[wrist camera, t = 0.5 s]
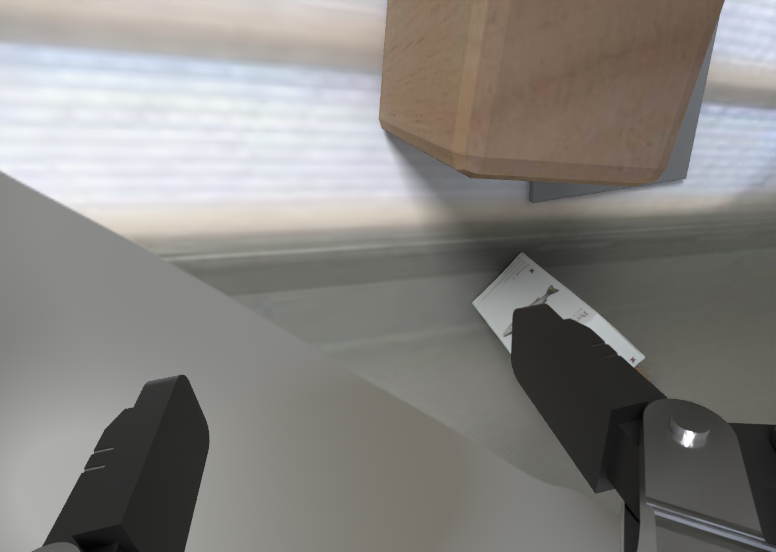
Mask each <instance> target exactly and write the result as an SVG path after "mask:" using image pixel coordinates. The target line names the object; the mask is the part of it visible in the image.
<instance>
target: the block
mask: <svg viewBox="0 0 776 552" xmlns="http://www.w3.org/2000/svg"><path fill="white" fill-rule="evenodd" d="M724 1H725V0H388V3H387V16H386V30H385V43H384V57H383V70H382V84H381V98H380V111H379V120H380V124H381V127H382V129H384V130H386V131H388V132H389V133H391V134H393V135H395V136H396V137H398V138H400V139H402V140H404V141H405V142H407V143H409V144H411V145H412V146H414V147H416V148H418V149H420V150H421V151H423V152H425V153H427V154H428V155H430V156H432V157H434V158H436V159H437V160H439V161H441V162H443V163H444V164H446V165H448V166H450V167H452V168H453V169H455V170H457V171H459V172H461V173H463V174H464V175H466V176H468V177H470V178H484V179H502V180H520V181H538V182H556V183H574V184H593V185H611V186H629V187H635V186H639V185H644V184H648V183H651V182H655V181H657V180H658V179H659V177H660V176H661V175H662V173H663V172H664V171H665V169H666V167H667V165H668V162H669V159H670V156H671V153H672V150H673V147H674V145H675V142H676V139H677V136H678V133H679V130H680V127H681V124H682V122H683V119H684V116H685V113H686V110H687V107H688V104H689V101H690V99H691V96H692V93H693V90H694V87H695V84H696V81H697V78H698V76H699V73H700V70H701V67H702V64H703V61H704V58H705V55H706V53H707V50H708V47H709V44H710V41H711V38H712V35H713V32H714V30H715V27H716V24H717V21H718V18H719V15H720V12H721V9H722V7H723V4H724Z"/></svg>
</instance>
